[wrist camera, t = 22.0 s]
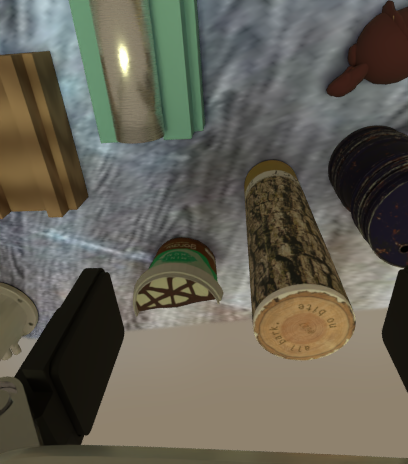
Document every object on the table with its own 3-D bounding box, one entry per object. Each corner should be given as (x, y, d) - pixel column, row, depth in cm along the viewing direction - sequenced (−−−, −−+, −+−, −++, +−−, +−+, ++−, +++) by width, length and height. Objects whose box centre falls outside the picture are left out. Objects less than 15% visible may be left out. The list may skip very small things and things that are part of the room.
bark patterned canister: (265, 215, 47) (291, 372, 26) (233, 181, 45) (232, 321, 23) (307, 185, 44) (375, 333, 23) (275, 147, 42) (318, 271, 21)
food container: (214, 222, 48) (210, 265, 40) (224, 257, 51) (223, 303, 43) (134, 239, 51) (114, 281, 42) (148, 271, 54) (132, 317, 45)
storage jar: (357, 110, 39) (417, 151, 26) (429, 143, 40) (520, 196, 28) (312, 184, 44) (344, 248, 31) (377, 211, 45) (434, 283, 33)
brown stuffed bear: (484, -79, 26) (307, 60, 32) (528, 9, 27) (347, 126, 33) (452, -46, 32) (309, 65, 39) (489, 24, 33) (343, 120, 40)
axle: (166, 128, 37) (163, 141, 33) (120, 132, 37) (112, 145, 33) (146, -33, 30) (140, -44, 26) (89, -28, 30) (74, -39, 26)
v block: (205, 124, 41) (200, 138, 36) (109, 129, 42) (92, 143, 37) (195, -19, 34) (188, -27, 29) (80, -7, 35) (54, -13, 30)
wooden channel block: (88, 196, 47) (70, 216, 42) (8, 199, 49) (-19, 219, 44) (49, 51, 38) (21, 54, 33) (-49, 58, 39) (-91, 63, 34)
